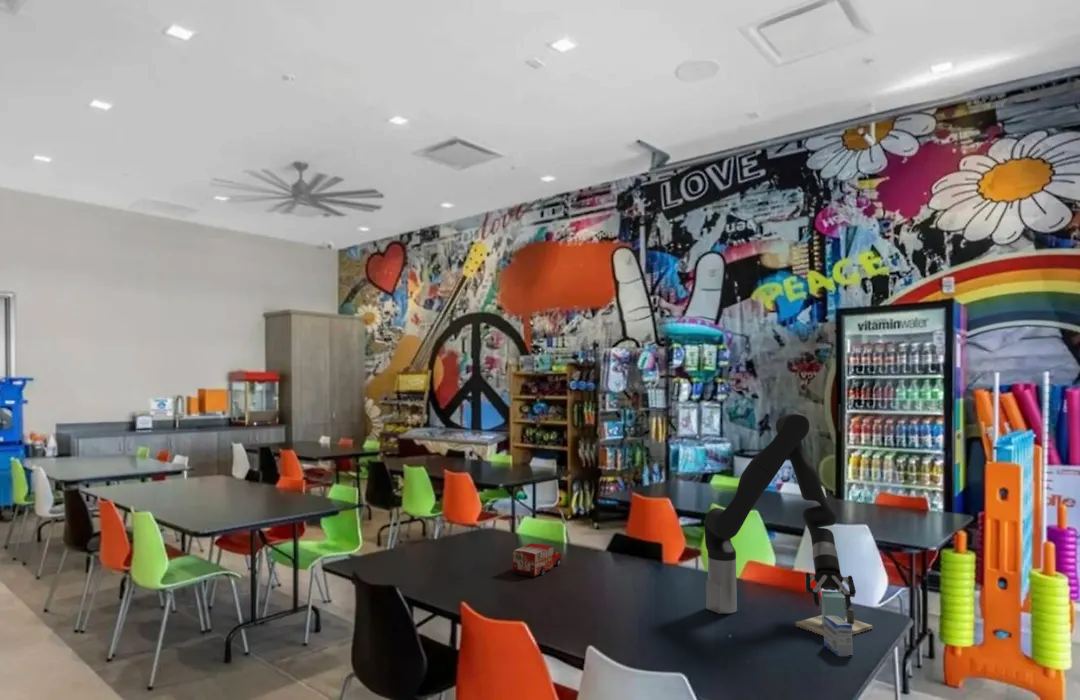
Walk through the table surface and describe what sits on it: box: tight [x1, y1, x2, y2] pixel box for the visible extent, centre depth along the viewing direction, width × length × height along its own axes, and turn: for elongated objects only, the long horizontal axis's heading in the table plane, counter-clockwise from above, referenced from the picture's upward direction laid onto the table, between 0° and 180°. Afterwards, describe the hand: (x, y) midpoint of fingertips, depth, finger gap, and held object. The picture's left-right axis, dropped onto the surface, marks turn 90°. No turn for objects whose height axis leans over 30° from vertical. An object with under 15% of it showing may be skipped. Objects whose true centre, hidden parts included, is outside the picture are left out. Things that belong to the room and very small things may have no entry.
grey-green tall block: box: [820, 590, 846, 626], centre depth 204 cm, size 6×6×10 cm
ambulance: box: [511, 542, 562, 578], centre depth 273 cm, size 11×25×10 cm, turn 150°
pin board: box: [795, 608, 873, 637], centre depth 207 cm, size 18×14×5 cm
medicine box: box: [823, 616, 854, 657], centre depth 190 cm, size 8×4×9 cm, turn 5°
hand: (832, 607), depth 204 cm, fingers open, 8 cm apart
